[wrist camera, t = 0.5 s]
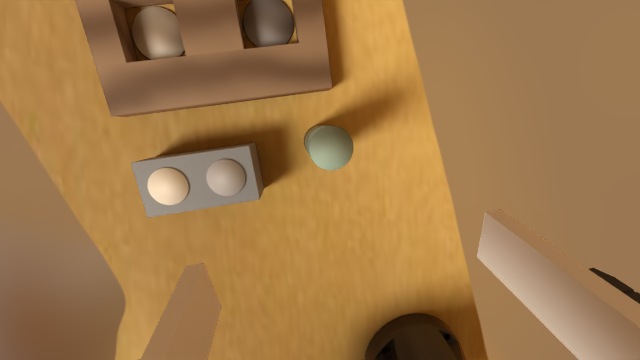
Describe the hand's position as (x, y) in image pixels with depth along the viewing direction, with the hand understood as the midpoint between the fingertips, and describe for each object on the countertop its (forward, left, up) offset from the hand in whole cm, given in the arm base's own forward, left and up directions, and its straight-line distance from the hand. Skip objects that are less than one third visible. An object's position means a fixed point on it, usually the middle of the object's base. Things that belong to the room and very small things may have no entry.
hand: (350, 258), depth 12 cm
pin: (+4, -1, -22) cm, 23 cm away
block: (+2, +13, -22) cm, 26 cm away
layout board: (+18, +9, -22) cm, 30 cm away
